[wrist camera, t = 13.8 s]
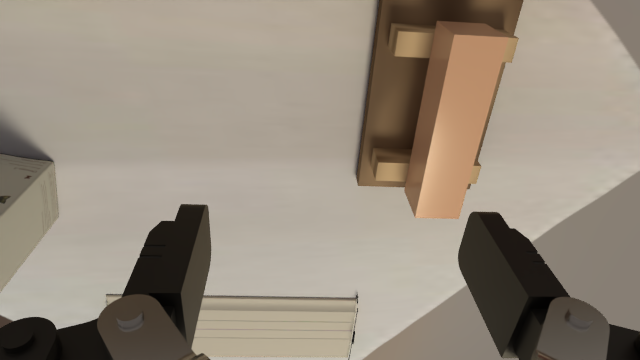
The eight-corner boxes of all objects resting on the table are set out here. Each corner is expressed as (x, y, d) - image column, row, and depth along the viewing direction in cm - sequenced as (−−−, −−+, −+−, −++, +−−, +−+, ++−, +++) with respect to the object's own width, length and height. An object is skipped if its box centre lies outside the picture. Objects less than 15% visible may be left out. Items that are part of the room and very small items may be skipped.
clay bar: (436, 20, 35) (454, 34, 32) (485, 23, 36) (509, 37, 32) (404, 190, 44) (415, 217, 40) (444, 191, 44) (458, 218, 40)
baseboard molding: (106, 282, 55) (122, 346, 61) (98, 300, 52) (114, 365, 58) (357, 286, 57) (347, 348, 63) (360, 304, 55) (349, 366, 61)
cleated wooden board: (356, 178, 48) (361, 201, 44) (380, -12, 38) (390, -3, 34) (464, 181, 49) (479, 205, 45) (515, -3, 39) (540, 6, 35)
